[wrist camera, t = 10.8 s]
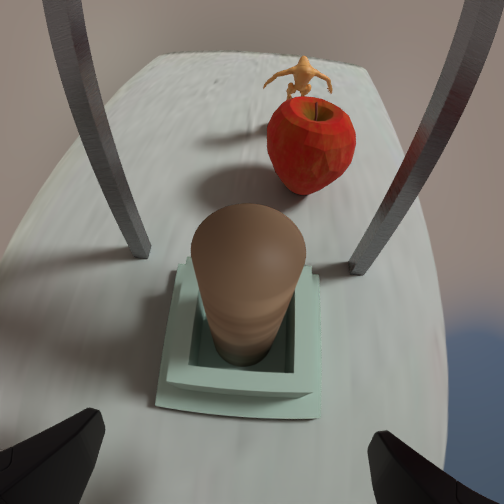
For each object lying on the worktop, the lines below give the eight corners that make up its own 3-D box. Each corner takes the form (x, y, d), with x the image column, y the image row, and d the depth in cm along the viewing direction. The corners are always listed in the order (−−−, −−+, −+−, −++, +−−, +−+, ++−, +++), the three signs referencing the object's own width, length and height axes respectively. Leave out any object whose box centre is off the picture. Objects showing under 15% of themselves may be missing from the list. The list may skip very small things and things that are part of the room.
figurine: (315, 124, 39) (331, 50, 29) (325, 150, 36) (345, 67, 26) (257, 122, 39) (263, 43, 29) (260, 147, 36) (268, 59, 25)
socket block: (317, 418, 20) (338, 416, 15) (158, 406, 20) (138, 401, 15) (316, 279, 26) (331, 248, 22) (180, 269, 26) (170, 236, 22)
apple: (335, 168, 34) (358, 92, 25) (340, 223, 30) (375, 139, 21) (265, 158, 34) (273, 77, 25) (257, 211, 30) (265, 119, 21)
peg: (251, 377, 20) (268, 323, 10) (202, 345, 21) (167, 260, 11) (282, 330, 22) (324, 234, 12) (234, 301, 24) (233, 188, 13)
